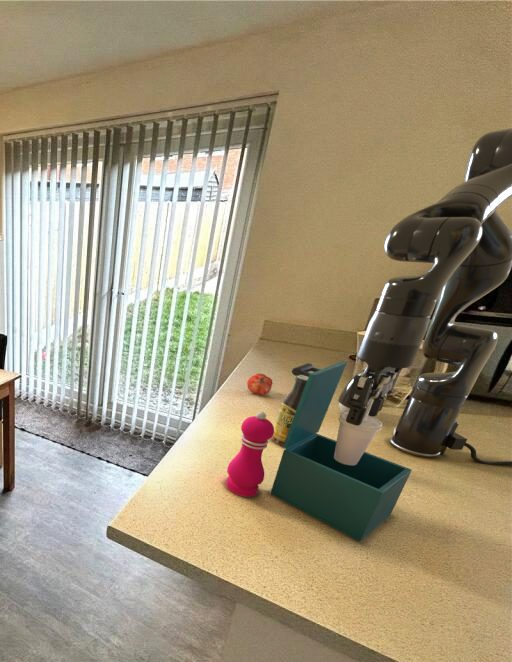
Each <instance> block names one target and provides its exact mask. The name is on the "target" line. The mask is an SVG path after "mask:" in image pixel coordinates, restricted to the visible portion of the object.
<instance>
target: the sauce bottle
mask: <svg viewBox="0 0 512 662" xmlns="http://www.w3.org/2000/svg"><path fill="white" fill-rule="evenodd" d="M308 378H309V377H307V376H304V375H299V376H296V377H295V378H294V384H293V387H292V389H291V390H290V391H289V393H288V394H287V395H286V397H284V399H283V401H282V402H281V405H280V407H279V410H278V413H277V415H276V419H275V423H274V424H273V426H274V434H273V436H272V437H271V438H270V439H271V441H272V442H273V443H275V444H277V445H279V446H281V447H283V445H284V442H285V439H286V437H287V434H288V431H289V429H290V426H291V423H292V421H293V418H294V415H295V413H296V410H297V407H298V404H299V402H300V399H301V396H302V394H303V391H304V388H305V386H306V383H307V380H308Z"/></svg>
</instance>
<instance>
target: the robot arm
mask: <svg viewBox="0 0 512 662" xmlns="http://www.w3.org/2000/svg"><path fill="white" fill-rule="evenodd" d="M511 199H512V128H504V129H498V130H492V131H489V132H486V133H485V134H482V136H480V137H479V138H478V139H477V141H476V142H475V144H474V145H473V147H472V149H471V151H470V154H469V157H468V159H467V163H466V168H465V173H464V178H463V182H462V183H460V184H458V185H456V186H454V188H452V189H451V190H449V191H448V192H447V193H446V194H445V195H443V196H442V197H441V198H440V199H439V200H438V201H437V202H436V203H433V204H431V205H428V206H426V207H424V208H421V209H419V210H416V211H415V212H413V213H411V214H409V215H407V216H405V217H404V218H402V219H401V220H399V222H398V223H396V224H395V225H394V226H393V227H392V228H391V230H389V232H388V234H387V235H386V237H385V240H384V242H383V249H384V254H385V255H386V256H387V257H388V258H389V259H391V260H393V261H397V262H405V263H420V264H421V263H423V264H432V266H431V267H430V269H428V270H427V271H426V272H424V273H422V274H416V275H404V276H395V277H392V278H390V279H388V280H387V281H386V282H385V284H384V285H383V289H382V290H381V293H380V297H379V298H378V299H379V300H378V302H377V305H376V308H375V310H374V312H373V314H372V316H371V318H370V320H369V322H368V325H367V327H366V330H365V333H364V336H363V338H362V341H361V344H360V347H359V349H358V353H357V358H358V359H359V360H360V361H362V362H364V363H365V364H367V366H366V367H365V368H364V369H362V370H361V371H362V372H361V374H360V375H356V374H355V375H356V376H355V375H354V376H355V377H354V376H353V377H354V380H353V383H352V387H351V390H350V393H349V396H348V399H347V404H350V405H351V407H350V410H349V413H348V415H347V418H346V422H347V423H350V424H353V425H356V426H358V425H360V424H361V423H362V421H363V418H364V416H365V413H366V411H367V408H368V407H369V405H370V403H371V401H372V399H373V400H374V401H373V403H372V406H371V409H370V411H369V414H368V415H369V416H372V417H374V418H375V417H376V416H378V414H379V412H380V411H379V409H380V406H381V404H382V401H383V400H382V399H384V400H385V399H387V397H388V395H391V394H392V392H393V390H394V387H395V385H396V383H397V380H398V378H399V376H400V374H401V372H402V370H403V369H406V368H409V367H412V366H413V364H414V363H415V361H416V360H415V359H416V357H417V355H418V352H419V350H420V348H421V345H422V348H421V351H422V355H423V357H424V358H425V359H428V360H431V361H435V362H439V363H442V364H443V363H444V364H448V365H453V366H457V367H458V369H457V370H455V371H449V372H426V373H422V374H420V375H419V376H418V377H417V379H416V382H415V384H414V386H413V387H412V391H411V392H410V395H409V398H408V399H407V402H406V403H405V404H406V405H405V406H404V409H403V411H402V414H401V416H400V418H399V421H398V422H397V425H396V426H395V427H394V429H393V431H392V433H393V435H392V436H391V438H390V440H389V443H390V445H391V446H392V447H394V449H395V448H396V449H397V450H399V451H400V452H404V453H406V454H409V455H413V456H415V457H421V458H428V459H429V458H430V459H434V458H438V457H439V456H444V454H445V453H446V451H447V448H448V449H449V450H451V451H452V450H453V451H454V450H456V451H462V450H463V449H464V447H465V448H467V449H468V450H469V451H470V457H471V459H472V460H473V461H475V462H476V463H478V464H485V465H491V466H512V461H509V460H508V461H504V460H503V461H486V460H483V459H481V458H478V456H477V450H476V448H475V447H474V446H473V445H472V444H470V443H468V442H467V441H468V438H466V437H464V436H462V435H460V434H459V433H457V432H456V431H457V428H458V427H459V422H458V421H457V419H458V417H459V415H460V414H461V411H462V409H463V407H464V405H465V403H466V400H467V399H468V397H469V395H470V393H471V391H472V389H473V387H474V386H475V384H476V382H477V380H478V378H479V376H480V374H481V372H482V370H483V369H484V367H485V365H486V364H487V362H488V360H489V359H490V357H491V355H492V354H493V352H494V351H495V348H496V346H497V344H498V341H499V334H498V333H497V332H496V331H494V330H492V329H488V328H481V327H475V326H469V325H468V326H467V325H462V324H456V323H455V320H456V318H457V317H458V315H460V313H462V312H463V311H464V310H465V309H466V308H468V307H469V306H471V305H472V304H473V303H475V302H477V301H478V300H480V299H482V298H483V297H484V296H486V295H487V294H489V293H491V292H492V291H494V290H495V289H496V288H498V287H499V286H501V285H502V284H503V283H504V282H505V281H506V280H507V279H508V277H509V274H510V272H511V270H512V230H511V229H510V226H508V224H507V223H506V222H505V220H503V218H502V217H501V215H500V214H499V212H498V210H497V209H499V208H500V207H501V206H502V205H504V204H505V203H507V202H508V201H510V200H511ZM433 311H434V312H433ZM431 316H432V317H431ZM429 323H430V324H429ZM422 343H423V344H422ZM359 396H362V400H361V401H360V400H357V399H358V397H359ZM378 411H379V412H378Z"/></svg>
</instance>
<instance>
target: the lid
mask: <svg viewBox="0 0 512 662" xmlns="http://www.w3.org/2000/svg"><path fill="white" fill-rule="evenodd" d="M347 363H348V362H347V361H344V360H342V361H339V362H337V363H334V364H332V365H328V366H326V367H323V368H321V369H320V368H317V367H314V365H313V364H312V363H309V362H307V363H304V364H302V365H299V366H296V367H293V368H292V370H291V374H292V375H293V376H299V375H304V376H307V377H309V378H308V380H307V383H306V386H305V388H304V391H303V394H302V396H301V399H300V402H299V404H298V407H297V410H296V413H295V415H294V418H293V421H292V423H291V426H290V429H289V431H288V434H287V437H286V439H285V442H284V445H283V446H282V448H283V449H284V450H285V449H287V448H289V447H291V446H293V445H295V444H297V443H299V442H300V441H302V440H304V439H306V438H308V437H310V436H312V435H314V434H316V433H317V434H318V433H319V431H320V429H321V427H322V425H323V422H324V419H325V417H326V414H327V412H328V409H329V407H330V405H331V402H332V400H333V398H334V395H335V392H336V391H337V387H338V386H339V383H340V380H341V379H342V376H343V373H344V371H345V368H346V366H347Z"/></svg>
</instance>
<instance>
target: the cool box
mask: <svg viewBox="0 0 512 662" xmlns="http://www.w3.org/2000/svg"><path fill="white" fill-rule="evenodd" d="M336 442H337V440H335V439H333V438H330V437H327V436H325V435H322V434H319V433H318V432H317V433H316V434H314V435H312V436H310V437H308V438H306V439H304V440H302V441H300V442H299V443H297V444H295V445H293V446H291V447H289V448H287V449H285V448H284V449H283V451H282V455H281V458H280V461H279V464H278V467H277V471H276V474H275V477H274V481H273V484H272V487H271V490H270V495H271V496H273V497H275V498H276V499H279V500H281V501H282V502H284V503H286V504H288V505H290V506H292V507H294V508H295V509H297V510H299V511H301V512H303V513H305V514H307V515H309V516H311V518H312V517H313V518H315V519H316V520H318V521H320V522H322V523H324V524H325V525H327V526H329V527H331V528H333V529H335V530H336V531H338V532H340V533H342V534H345V535H346V536H348V537H349V538H352V539H354V540H355V541H358V542H362V541H363V540H364V539H365V538H367V537H368V536H369V535H370V534H371V533H373V532H374V531H375V530H376V529H377V528H378V527H380V526H381V525H382V524H383V523H384V522H385V521H386V520H388V519H389V518H390V517H391V515H392V513H393V510H394V508H395V507H396V504H397V503H398V500H399V498H400V496H401V494H402V492H403V490H404V488H405V485H406V483H407V482H408V479H409V477H410V476H411V473H412V471H413V469H412V468H409V467H407V466H403V465H400V464H398V463H396V462H392V461H390V460H387V459H385V458H383V457H380V456H377V455H375V454H372V453H370V452H366V451H365V452H364V453H363V455H362V456H361V458H360V460H359V461H358V463H357V464H356V465H346V464H342V463H340V462H338V461H336V460H335V459H334V454H335V448H336Z"/></svg>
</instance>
